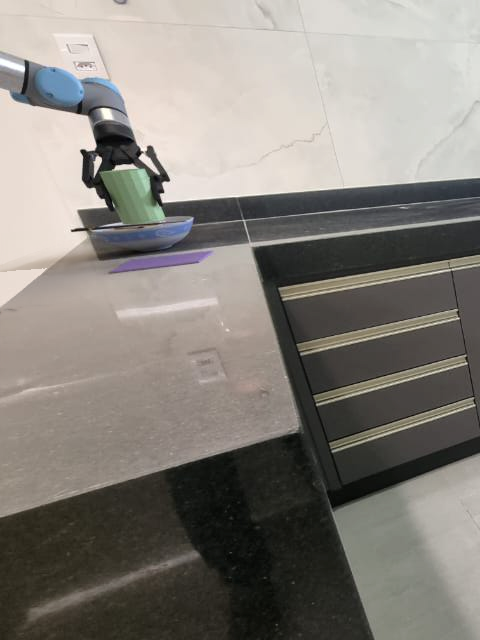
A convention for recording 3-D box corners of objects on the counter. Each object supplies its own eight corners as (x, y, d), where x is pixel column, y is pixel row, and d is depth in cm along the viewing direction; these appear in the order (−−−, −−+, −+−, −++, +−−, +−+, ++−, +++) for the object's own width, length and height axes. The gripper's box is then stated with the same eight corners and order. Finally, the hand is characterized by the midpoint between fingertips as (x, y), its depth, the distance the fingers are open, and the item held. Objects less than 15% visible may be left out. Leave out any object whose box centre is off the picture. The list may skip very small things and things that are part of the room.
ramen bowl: (219, 237, 166) (209, 210, 163) (188, 252, 146) (176, 222, 143) (123, 246, 159) (111, 218, 156) (77, 263, 140) (62, 232, 136)
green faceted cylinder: (117, 225, 126) (92, 173, 121) (130, 220, 133) (107, 170, 128) (159, 221, 129) (137, 170, 124) (170, 217, 136) (149, 167, 131)
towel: (109, 273, 127) (108, 271, 127) (131, 261, 139) (131, 259, 138) (199, 262, 133) (198, 261, 133) (213, 251, 145) (213, 250, 145)
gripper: (172, 141, 141) (195, 209, 136) (63, 147, 129) (83, 221, 124) (162, 119, 134) (185, 189, 129) (46, 123, 123) (67, 200, 118)
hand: (135, 205), depth 127 cm, fingers closed on green faceted cylinder, 8 cm apart
